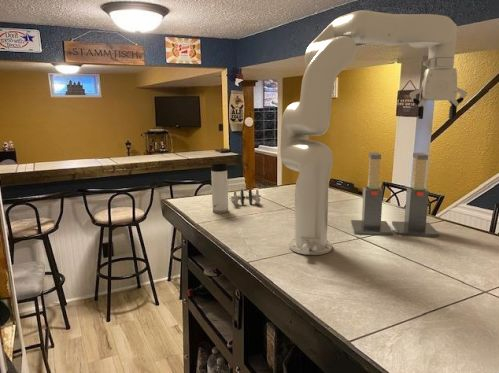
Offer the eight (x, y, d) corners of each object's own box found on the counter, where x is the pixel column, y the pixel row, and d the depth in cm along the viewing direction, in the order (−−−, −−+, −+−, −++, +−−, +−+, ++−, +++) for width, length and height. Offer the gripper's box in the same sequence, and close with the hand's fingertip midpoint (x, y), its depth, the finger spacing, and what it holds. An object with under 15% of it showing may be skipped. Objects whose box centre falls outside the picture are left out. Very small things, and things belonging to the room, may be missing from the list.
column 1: (377, 213, 125) (381, 154, 121) (368, 213, 126) (371, 154, 122) (375, 208, 131) (378, 152, 127) (365, 208, 131) (368, 152, 127)
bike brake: (263, 205, 159) (257, 200, 179) (262, 188, 159) (257, 186, 178) (230, 207, 158) (228, 202, 178) (230, 190, 157) (228, 187, 177)
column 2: (423, 215, 123) (428, 155, 119) (413, 214, 123) (417, 155, 119) (418, 210, 129) (423, 152, 124) (408, 209, 129) (413, 152, 125)
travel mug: (214, 214, 149) (212, 163, 145) (211, 209, 156) (209, 161, 151) (230, 212, 151) (228, 162, 147) (226, 208, 157) (225, 160, 153)
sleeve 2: (439, 237, 121) (443, 194, 118) (399, 235, 123) (402, 193, 120) (428, 225, 132) (431, 185, 129) (391, 224, 134) (394, 185, 131)
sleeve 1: (392, 235, 123) (395, 193, 120) (354, 233, 125) (356, 192, 122) (386, 223, 134) (388, 185, 131) (350, 222, 136) (352, 184, 133)
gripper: (415, 64, 120) (410, 119, 124) (474, 62, 118) (468, 118, 121) (409, 66, 128) (405, 118, 131) (465, 64, 125) (459, 118, 128)
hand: (435, 118), depth 126 cm, fingers open, 9 cm apart
